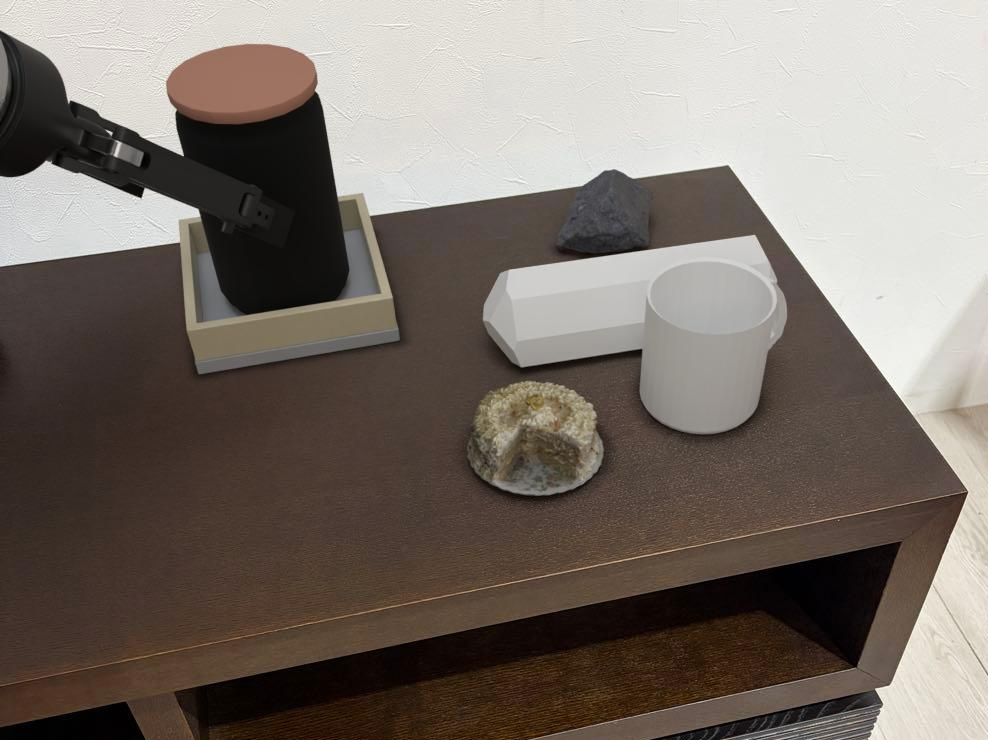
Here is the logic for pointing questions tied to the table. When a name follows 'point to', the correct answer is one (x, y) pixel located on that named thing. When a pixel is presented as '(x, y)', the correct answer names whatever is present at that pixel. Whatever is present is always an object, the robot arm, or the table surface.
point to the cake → (534, 439)
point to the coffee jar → (265, 170)
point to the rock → (607, 215)
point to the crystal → (591, 301)
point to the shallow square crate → (294, 331)
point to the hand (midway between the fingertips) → (212, 203)
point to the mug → (708, 343)
